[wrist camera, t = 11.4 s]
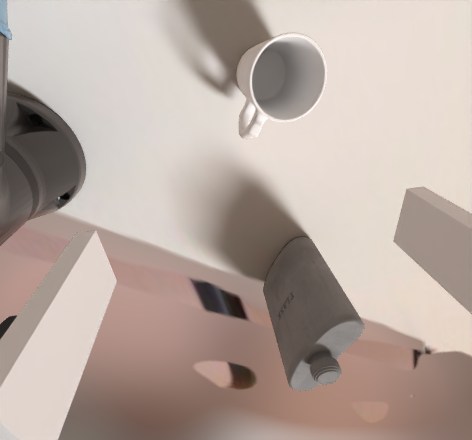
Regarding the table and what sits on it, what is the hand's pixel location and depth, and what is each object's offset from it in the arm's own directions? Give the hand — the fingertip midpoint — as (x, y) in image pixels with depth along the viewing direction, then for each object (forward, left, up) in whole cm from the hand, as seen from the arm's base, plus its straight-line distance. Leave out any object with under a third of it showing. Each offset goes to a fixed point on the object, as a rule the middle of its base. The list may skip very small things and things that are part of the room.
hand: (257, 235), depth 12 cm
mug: (+5, +4, -28) cm, 28 cm away
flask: (+11, -26, -28) cm, 40 cm away
